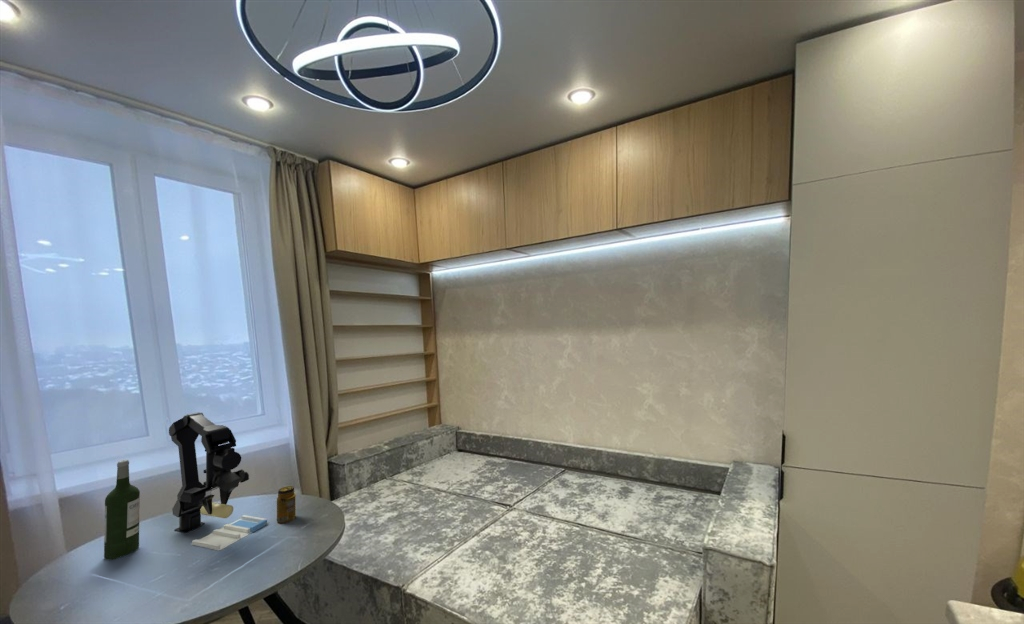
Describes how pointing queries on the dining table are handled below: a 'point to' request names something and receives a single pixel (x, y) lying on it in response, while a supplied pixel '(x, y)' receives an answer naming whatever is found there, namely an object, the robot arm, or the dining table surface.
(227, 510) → the cream soap bar
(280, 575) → the dining table surface
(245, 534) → the white slotted organizer tray
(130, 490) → the wine bottle
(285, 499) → the condiment
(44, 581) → the dining table surface
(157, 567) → the dining table surface
